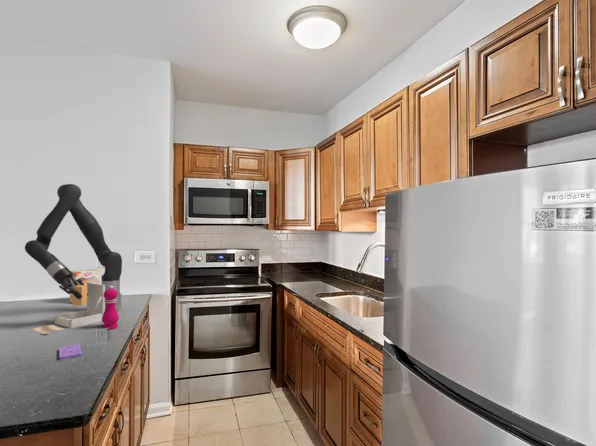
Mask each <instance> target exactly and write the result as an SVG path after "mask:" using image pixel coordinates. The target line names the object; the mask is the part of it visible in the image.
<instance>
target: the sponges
mask: <svg viewBox="0 0 596 446" xmlns="http://www.w3.org/2000/svg"><path fill="white" fill-rule="evenodd" d="M58 352H59V354H58V356H59V359H65V360H67V359H66V358H70V359H73V358H72V357H76V356H82V355H83V354H82V350H81V344H80V343H76V344H72V345H65V346H59V347H58ZM82 357H83V356H82ZM76 358H77V357H76ZM59 359H58V360H59Z"/></svg>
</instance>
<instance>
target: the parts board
mask: <svg viewBox="0 0 596 446" xmlns="http://www.w3.org/2000/svg"><path fill="white" fill-rule="evenodd" d="M65 329H66V327H63V326H60V325H56V324H49V325H44V326H39V327H35V328H30V330H31V331H35V332H38V333H39V335H41V336H44V337H45V336H48V335H50V333H51V332H57V331H60V330H65ZM40 333H41V334H40ZM48 333H49V334H48Z"/></svg>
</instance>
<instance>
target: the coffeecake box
mask: <svg viewBox="0 0 596 446" xmlns="http://www.w3.org/2000/svg"><path fill="white" fill-rule="evenodd" d="M70 271H71V272H72V273H73V275H72V277H73V278H75V279H76V280H78V279H81V281H82V282H83V284H84V285H87V283H96V284H100V269H98V268H97V269H96V268H94V269H93V268H92V269H91V268H90V269H80V270H70ZM70 302H71V304H73V294H69V303H70Z"/></svg>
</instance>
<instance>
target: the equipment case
mask: <svg viewBox="0 0 596 446" xmlns="http://www.w3.org/2000/svg"><path fill="white" fill-rule="evenodd" d="M104 292H105V285H102V283H99V284H96V283H87V293H88V294H89V295H88V296H87V304H86V310H85V309H84V310H80V311H75V312H70V313H69V312H68V313H65V314H58V315H55V316H54V317H53V318H54V323H53V325H56V326H60V327H63V328H68V329H73V328H76V327H82V326H85V325H89V324H93V323H94V324H95V323H99V322H102V316H103V313H104V311H105V298H104Z"/></svg>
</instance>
